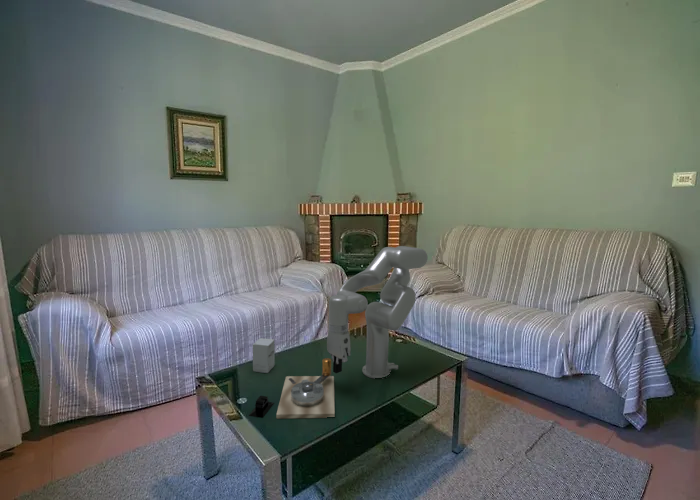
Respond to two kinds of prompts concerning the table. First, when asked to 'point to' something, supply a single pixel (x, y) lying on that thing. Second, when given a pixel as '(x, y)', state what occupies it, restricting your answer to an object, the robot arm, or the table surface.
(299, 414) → the birch board
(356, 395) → the table surface
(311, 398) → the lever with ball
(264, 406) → the black stand with base
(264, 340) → the supplement box
